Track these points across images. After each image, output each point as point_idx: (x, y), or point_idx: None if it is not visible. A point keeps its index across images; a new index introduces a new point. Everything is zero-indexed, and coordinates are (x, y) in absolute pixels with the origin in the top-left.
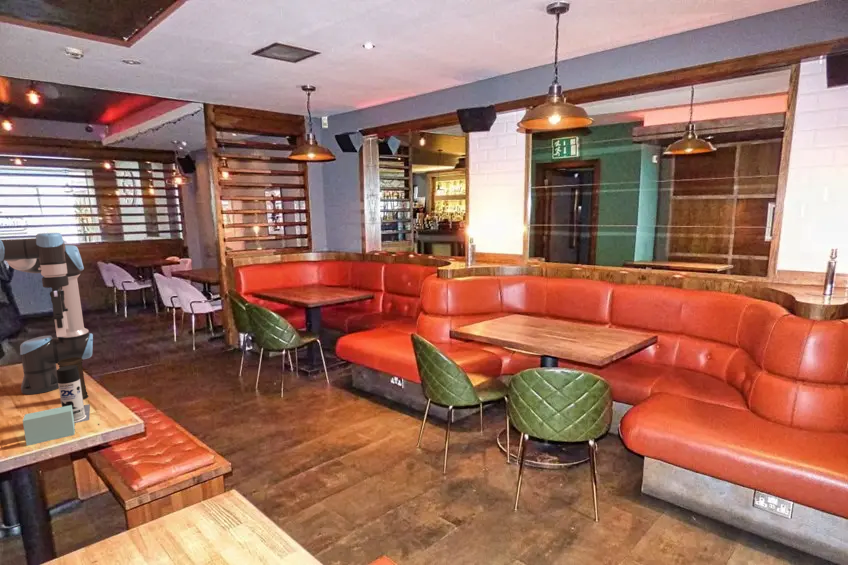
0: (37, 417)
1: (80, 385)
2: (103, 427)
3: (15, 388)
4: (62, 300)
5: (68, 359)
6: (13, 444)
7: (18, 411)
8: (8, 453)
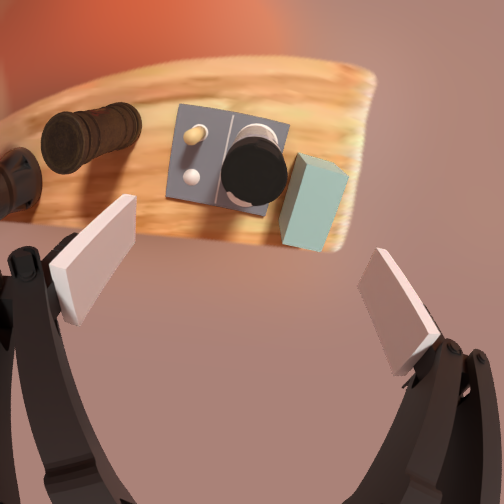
0: (326, 230)
1: (266, 136)
2: (342, 116)
3: None
4: (439, 493)
5: (53, 148)
6: None
7: None
8: None
